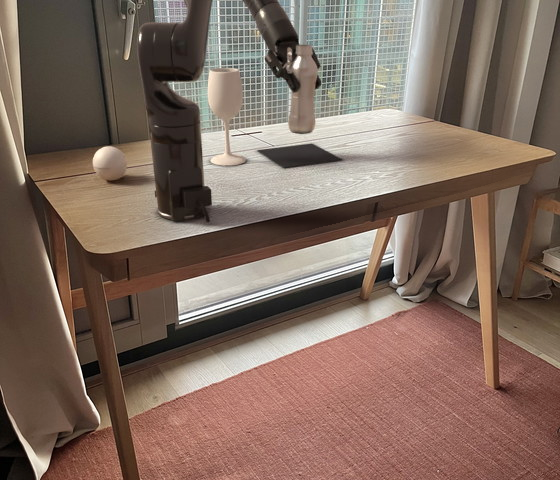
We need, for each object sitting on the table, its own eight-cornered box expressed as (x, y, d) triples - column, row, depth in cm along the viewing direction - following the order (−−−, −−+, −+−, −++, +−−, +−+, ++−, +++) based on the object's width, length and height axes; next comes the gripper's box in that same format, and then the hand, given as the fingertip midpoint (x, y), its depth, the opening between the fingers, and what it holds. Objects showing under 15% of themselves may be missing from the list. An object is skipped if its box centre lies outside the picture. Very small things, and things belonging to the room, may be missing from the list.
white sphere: (122, 172, 132) (118, 140, 128) (133, 181, 126) (129, 148, 123) (79, 179, 127) (73, 147, 123) (89, 189, 122) (83, 155, 118)
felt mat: (342, 160, 141) (342, 159, 141) (283, 168, 135) (283, 167, 135) (311, 144, 154) (311, 143, 153) (257, 151, 148) (257, 150, 148)
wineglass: (240, 167, 136) (237, 73, 125) (205, 164, 137) (200, 72, 127) (249, 157, 143) (247, 67, 132) (216, 154, 145) (211, 66, 134)
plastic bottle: (289, 129, 143) (290, 43, 133) (315, 130, 143) (319, 44, 133) (286, 136, 138) (288, 47, 128) (314, 137, 137) (318, 47, 127)
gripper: (259, 19, 128) (292, 81, 127) (306, 16, 136) (338, 75, 135) (245, 42, 135) (277, 102, 133) (291, 38, 143) (321, 95, 141)
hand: (307, 88), depth 134 cm, fingers closed on plastic bottle, 6 cm apart
